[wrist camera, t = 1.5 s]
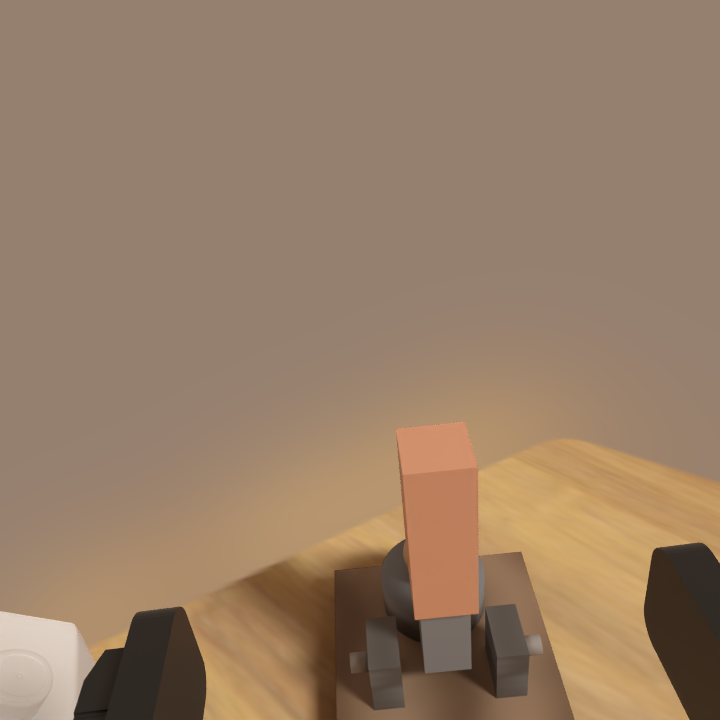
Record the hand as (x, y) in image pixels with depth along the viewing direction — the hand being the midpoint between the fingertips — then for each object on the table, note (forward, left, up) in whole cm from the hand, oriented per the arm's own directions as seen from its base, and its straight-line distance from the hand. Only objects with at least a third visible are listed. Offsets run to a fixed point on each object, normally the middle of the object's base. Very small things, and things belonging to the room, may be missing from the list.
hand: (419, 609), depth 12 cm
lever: (+2, +14, -22) cm, 27 cm away
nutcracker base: (+2, +15, -26) cm, 31 cm away
